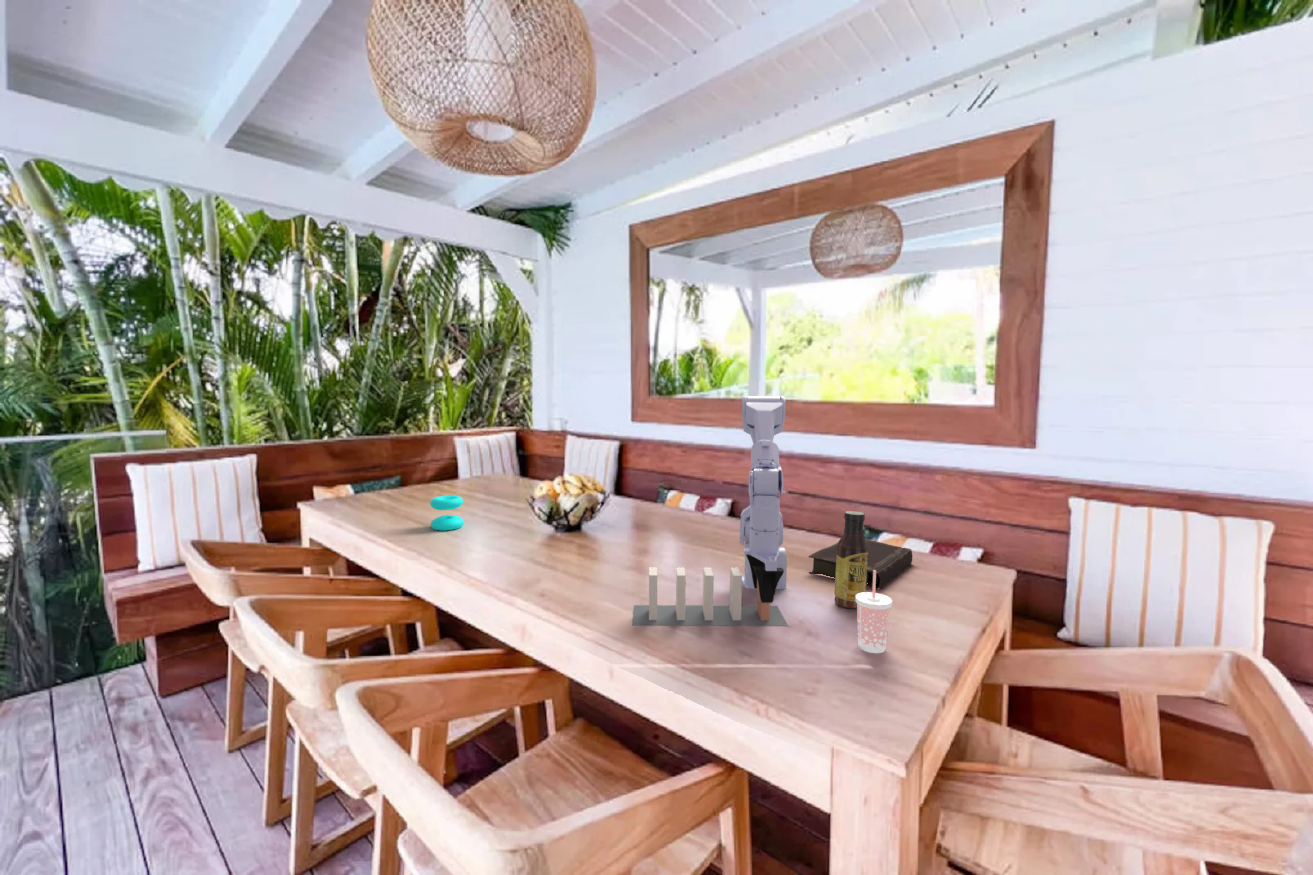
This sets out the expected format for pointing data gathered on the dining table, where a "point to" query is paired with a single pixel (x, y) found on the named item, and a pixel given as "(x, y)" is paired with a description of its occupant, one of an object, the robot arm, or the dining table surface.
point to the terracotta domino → (762, 607)
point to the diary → (879, 558)
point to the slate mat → (696, 618)
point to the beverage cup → (872, 619)
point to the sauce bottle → (851, 561)
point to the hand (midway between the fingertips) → (762, 594)
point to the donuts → (449, 520)
